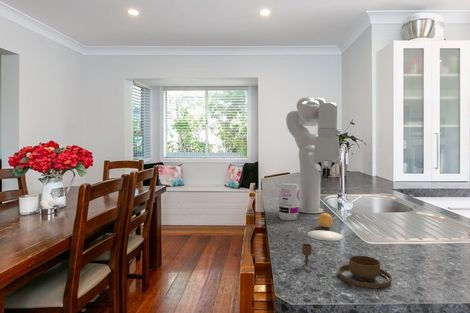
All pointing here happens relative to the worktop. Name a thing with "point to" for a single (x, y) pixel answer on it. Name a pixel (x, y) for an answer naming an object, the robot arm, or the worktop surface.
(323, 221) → the ball
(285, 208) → the supplement can
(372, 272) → the place setting
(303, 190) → the robot arm
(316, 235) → the disc
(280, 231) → the worktop surface
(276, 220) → the worktop surface
